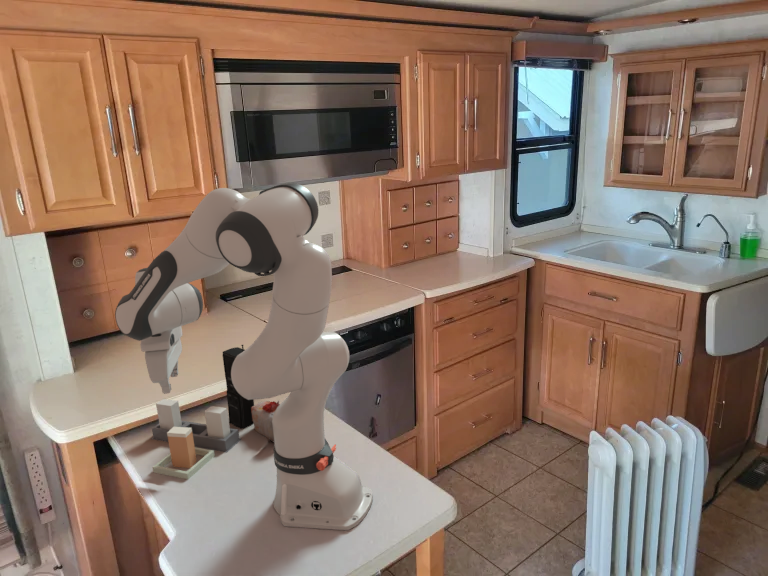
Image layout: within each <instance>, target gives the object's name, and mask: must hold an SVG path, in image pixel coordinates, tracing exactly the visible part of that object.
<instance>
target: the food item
mask: <svg viewBox="0 0 768 576" xmlns="http://www.w3.org/2000/svg"><path fill="white" fill-rule="evenodd" d="M280 404H281V403H280V400H278V401H277V402H276V401H269V400H268V401H267V400H266V401H265V400H264V401H260V402H258V403H256V404H254V406H252V407H251V410H252V411H251V413H252V418H253V420H252V421H253V423H254V424H253V427H254V428H253V429H254V431H255V432H257V433H258V434H260V435H262V436H263V437H265V438H266V439H269V441H271V442H273V443H274V434H273V425H272V419H273V415H274V412H275V410H276V409H277V407H278V406H279V405H280Z"/></svg>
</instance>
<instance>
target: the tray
mask: <svg viewBox="0 0 768 576" xmlns="http://www.w3.org/2000/svg"><path fill="white" fill-rule="evenodd" d="M195 453H196V456H197V455H199V456H203V457H202V458H201V459H200V460H197V462H196V463H195V464H194V465H193V466H192V467H191V468H188V470H180V469H177V468H171V467H165V466H166V465H168V463H170V462H172V459H171V453H170V452H169V453H168V454H167V455H166V456H165V457H163V458H162V459H160V460H159V461H158V462H157V463H155V464H154V465H153V466H152V471H153V473H155V474H160V475H164V476H169V477H173V478H179V479H184V480H190V479H191V478H192V477H193V476H194V475H195V474H196V473H198V472H199V470H201V469H202V468H204V466H205V465H207V464H208V463H209V462H210V461H211V460H212V459H213V458H214V457H216V454H215V450H210V449H204V448H198V447H195Z"/></svg>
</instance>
